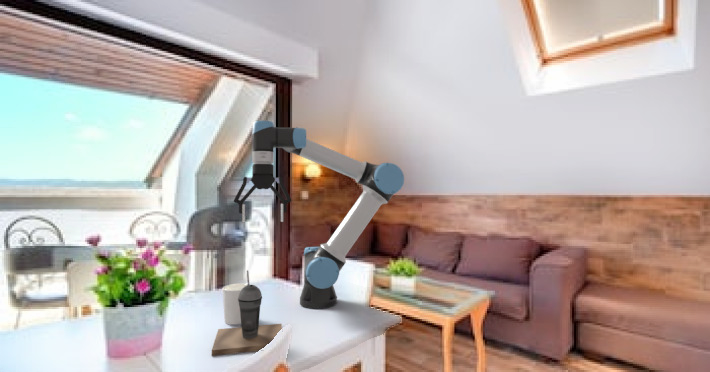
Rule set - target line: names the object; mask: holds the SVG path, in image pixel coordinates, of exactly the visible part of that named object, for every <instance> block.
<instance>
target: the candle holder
mask: <svg viewBox="0 0 710 372" xmlns="http://www.w3.org/2000/svg"><path fill="white" fill-rule="evenodd" d="M247 285H248V283H239V282H238V283H230V284H226V285H224V286H223V287H222V299H223V301H222V302H223V314H224V319H223V320H224V323H225V324H227V325H231V326H235V325H241V316H240V306H239V302H238V297H239V293H240V291H241V290H242V288H244V287H245V286H247ZM249 285H251V284H250V283H249Z"/></svg>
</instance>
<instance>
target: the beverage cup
mask: <svg viewBox="0 0 710 372" xmlns="http://www.w3.org/2000/svg"><path fill="white" fill-rule="evenodd" d="M249 276H250V275H249V270H246V279H247V280H246V281H247V284H248V285H247V286H245V287H244V288H242V290H241V291H240V293H239V297H238V302H239V306H240V316H241V324H240V327H242V335H243V338H246V339H251V338H255V337H257V336H258V327H259V326H260V315H261V314H260V312H261V304H262V301H263V300H262V299H263V295H262V291H261V290H260V288H259V287H258V286H257V285H254V284H250V277H249ZM249 284H250V285H249Z"/></svg>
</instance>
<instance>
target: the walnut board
mask: <svg viewBox="0 0 710 372" xmlns="http://www.w3.org/2000/svg"><path fill="white" fill-rule="evenodd" d="M281 329H282V330H283V325H282V323H275V324H274V323H273V324H264V325H260V324H259V327H258V336H257V337H255V338H251V339H246V338H243V335H242V327H241V326H240V327H239V326H238V327H229V328H218V329H217V333H216V336H215V339H214V341H213V345H212V347H211V356H219V355H220V356H222V355H230V354H232V355H233V354H239V353H240V354H241V353H250V352H252V353H253V352H259V351H258V350H260V349H262V348H264V347H265V346H266V345H267V344H269V343H270V342H271V341H272V340H273V339H274V337H275V336H276V335H277V333H278V332H279V331H280V330H281Z"/></svg>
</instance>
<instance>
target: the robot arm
mask: <svg viewBox="0 0 710 372" xmlns="http://www.w3.org/2000/svg"><path fill="white" fill-rule="evenodd" d="M251 137H252V138H251V140H252V141H251V142H252V144H251V145H252V154H251V155H252V157H251V158H252V159H251V160H252V163H253V164H252V165H251V167H252V168H251V169H252V176H251V177H247V176H244V177H242V184H241V185H240V188H239V189H238V191H237V194H236V196H235V197H234V199H233V202H234V203H236V204H238V212H239V214H241V215H242V218H241V220H242V224H243V223H246V204H244V202H245V201H246V200H247V199H248V198H249V197H250V196H251V194H252V193H253V192H254V191H255V190H256V189H257V190H268V189H270V190H271V191H272V192H273V193H274V195H275V196H277V198H278V199H279V200H280V201H281V202H282V203H280V222H282V223H284V213H287V204H289V203H291V202H292V198H291V197H290V194H289V193H288V190H287V189H286V186H285V185H284V183H283V182H284V181H283V177H281V176H280V177H275V172H274V168H275V167H274V162H275V161H274V159H275V158H274V157H275V156H274V153H275V151H274V149H275V148H276V149H283V150H284V151H285V152H287V153H291V154H294V155H295V156H299V157H302V158H304V159H305V160H308V161H311V162H314V163H315V164H318V165H321V166H323V167H325V168H328V169H329V170H332V171H335V172H337V173H339V174H342V175H344V176H347V177H348V178H351V179H354V180H355V182H356V184H359V185H362V192H361V194H360V195H359V197H358V198H357V200H356V201H355V203H354V204H353V205H352V206H351V208H350V210H349V211H348V212H347V214H346V215H345V216H344V218H343V219H342V221H341V222H340V224H339V225H338V226H337V228H336V229H335V231H334V232H333V233H332V234H331V236H330V237H329V239H328V240H327V241H326V242H325V243H321V244H319V246H306V247H305V248H304V250H303V256H304V257H303V262H304V265H303V268H304V269H303V279H304V281H303V287H302V289H301V290H302V291H301V294H300V297H299V305H300V306H301V307H303V308H308V309H327V308H331V307H333V306H335V305H337V303H338V296H337V294H336V290H335V287H334V285H335V284H336V282H337V281H338V279H339V276H340V271H341V270H342V269H343V267H344V266H345V264H346V263H347V262H346V261H347V260H346V256H347V254H348V253H349V251H350V250H351V249H352V247H353V246H354V244H355V243H356V242H357V241H358V238H359V237H360V236H361V235H362V233H363V232H364V230H365V229H366V227H367V226H368V224H369V223H370V222H371V220H372V218H373V217H374V215H376V213H377V212H378V211H379V209H380V207H381V206H382V205H384V204H385V205H386V204H388V203H389V201H390V200H391V199H392V197H393V196H394V194H396V193H398V192H399V191H400V190H401V189H403V186H404V183H405V175H404V173H403V170H402V168H401V167H400V166H398V165H397V164H394V163H391V162H383V163H380V164H374V163H372V162H371V163H370V162H368V161H359V160H357V159H354V158H353V157H350V156H348V155H346V154H343V153H340V152H338V151H335V150H333V149H331V148H329V147H327V146H324V145H321V144H319V143H317V142H315V141H313V140H310V139H309V138H307V129H305V128H303V127H277V126H275V125H274V122H273V121H271V120H264V119H263V120H262V119H261V120H255V121H254V122H253V123H252V131H251ZM250 181H251V183H252V184H253V185H252V186H251V188H250V189H249V190H248V191H247V193H246V194H244V196H243V197H242V198H241V199H240V197H241V196H242V194H243V192H244V190H245V188H246V186H247V184H249V183H250ZM275 182H276V183H277V184H279V186H280V188H281V190H282V192H283V194H284V196H285V198H286V199H285V198H284V197H283V196H282V194H280V192H279V191H278V190H277V189H276V188H275V187H274V185H273V184H274V183H275Z"/></svg>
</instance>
